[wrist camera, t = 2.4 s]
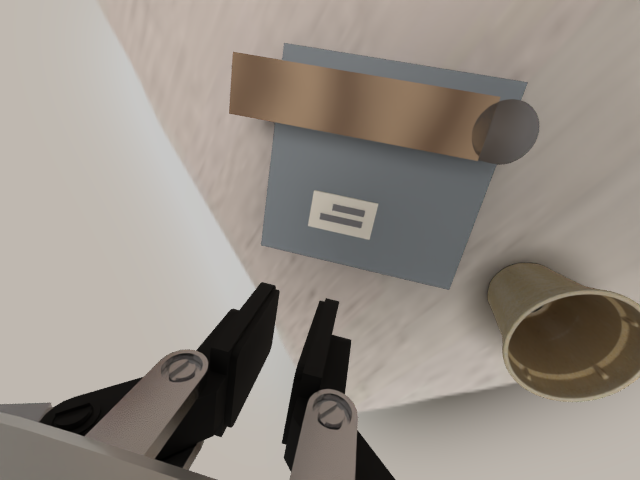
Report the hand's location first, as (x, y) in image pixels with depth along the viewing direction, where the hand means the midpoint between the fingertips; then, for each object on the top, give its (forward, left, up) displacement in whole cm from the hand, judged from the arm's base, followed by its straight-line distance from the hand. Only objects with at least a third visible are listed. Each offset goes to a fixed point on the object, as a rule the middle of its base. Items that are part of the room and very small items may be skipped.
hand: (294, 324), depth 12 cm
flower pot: (-19, +4, -19) cm, 27 cm away
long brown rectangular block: (-1, -9, -15) cm, 18 cm away
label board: (-2, -4, -19) cm, 20 cm away
